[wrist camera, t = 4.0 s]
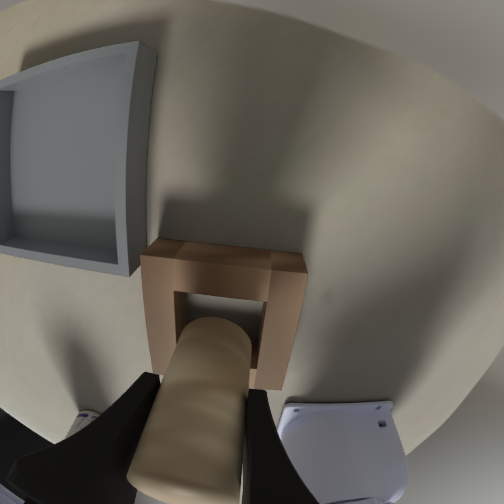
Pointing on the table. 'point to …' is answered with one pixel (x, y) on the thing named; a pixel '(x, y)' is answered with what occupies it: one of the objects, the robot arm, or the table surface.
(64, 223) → the tray
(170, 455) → the dowel
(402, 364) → the table surface
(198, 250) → the frame
